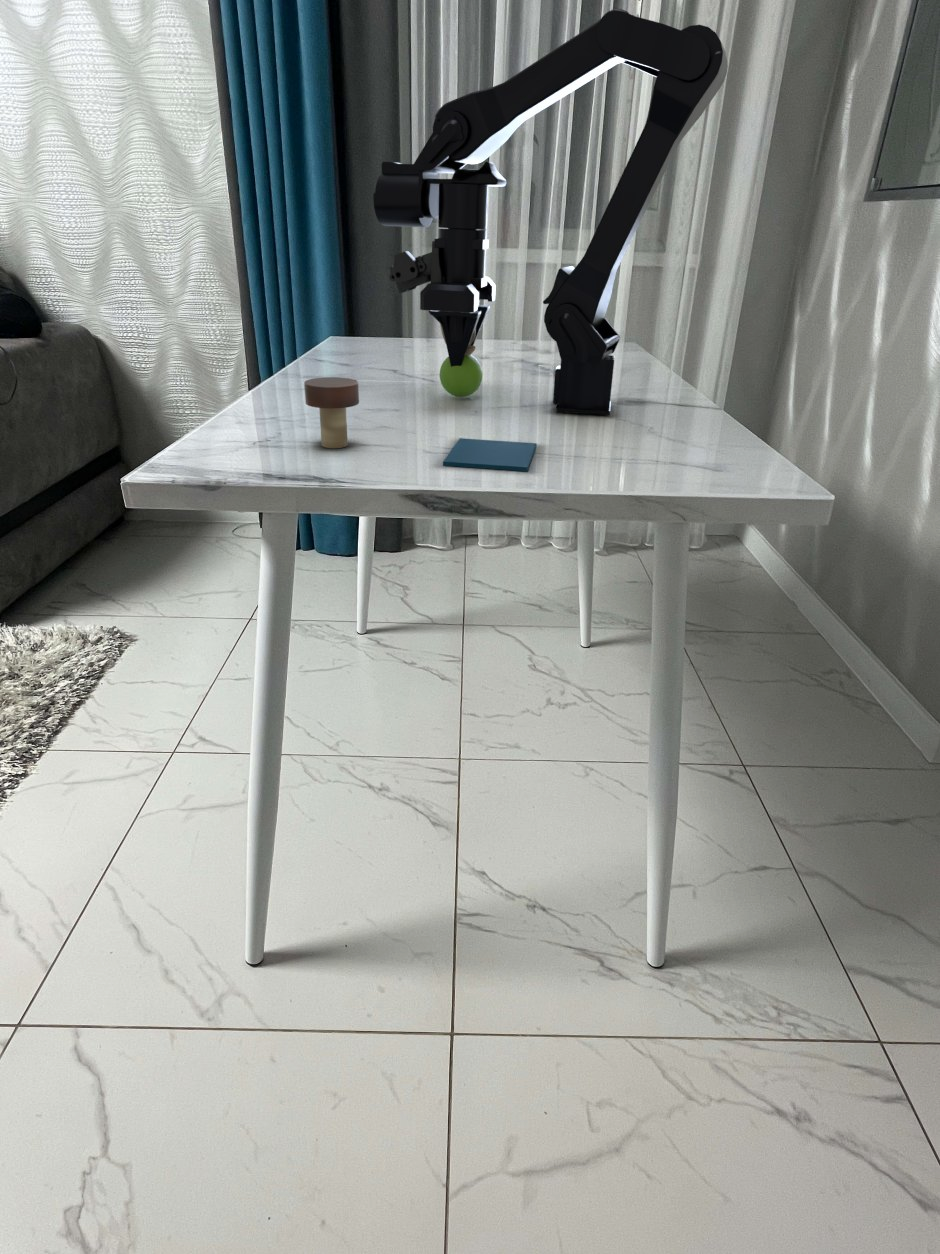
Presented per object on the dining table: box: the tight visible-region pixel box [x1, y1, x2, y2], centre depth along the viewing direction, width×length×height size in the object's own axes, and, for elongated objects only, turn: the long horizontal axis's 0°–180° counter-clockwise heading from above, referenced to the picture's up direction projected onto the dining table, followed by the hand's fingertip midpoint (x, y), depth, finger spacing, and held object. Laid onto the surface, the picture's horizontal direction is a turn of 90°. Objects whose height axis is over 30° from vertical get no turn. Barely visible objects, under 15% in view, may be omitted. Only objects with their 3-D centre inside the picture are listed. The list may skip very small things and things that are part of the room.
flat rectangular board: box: [442, 437, 538, 472], centre depth 79 cm, size 8×9×1 cm
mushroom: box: [303, 376, 360, 449], centre depth 80 cm, size 5×5×6 cm
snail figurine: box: [439, 323, 483, 398], centre depth 101 cm, size 5×6×12 cm
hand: (458, 366), depth 102 cm, fingers closed on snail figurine, 4 cm apart
